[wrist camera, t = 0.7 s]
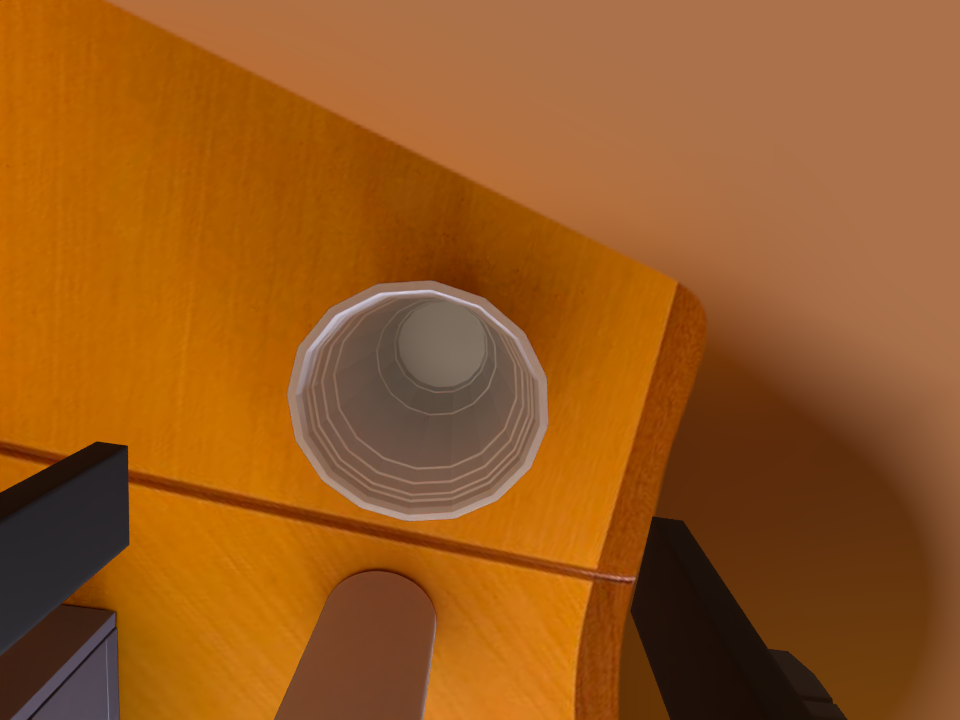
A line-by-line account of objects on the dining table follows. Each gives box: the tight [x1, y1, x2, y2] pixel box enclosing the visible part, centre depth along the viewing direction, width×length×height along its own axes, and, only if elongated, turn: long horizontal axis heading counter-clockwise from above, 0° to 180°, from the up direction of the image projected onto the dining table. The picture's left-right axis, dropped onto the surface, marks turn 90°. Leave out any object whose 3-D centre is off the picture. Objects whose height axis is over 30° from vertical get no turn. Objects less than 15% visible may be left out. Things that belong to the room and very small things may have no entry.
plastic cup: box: [287, 280, 548, 521], centre depth 28 cm, size 11×11×12 cm
